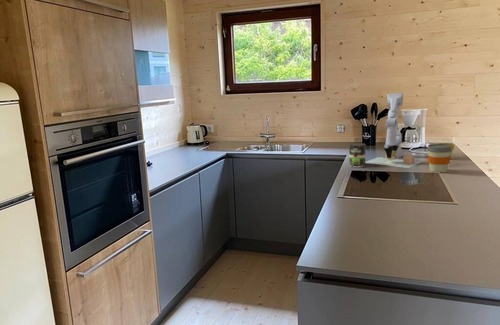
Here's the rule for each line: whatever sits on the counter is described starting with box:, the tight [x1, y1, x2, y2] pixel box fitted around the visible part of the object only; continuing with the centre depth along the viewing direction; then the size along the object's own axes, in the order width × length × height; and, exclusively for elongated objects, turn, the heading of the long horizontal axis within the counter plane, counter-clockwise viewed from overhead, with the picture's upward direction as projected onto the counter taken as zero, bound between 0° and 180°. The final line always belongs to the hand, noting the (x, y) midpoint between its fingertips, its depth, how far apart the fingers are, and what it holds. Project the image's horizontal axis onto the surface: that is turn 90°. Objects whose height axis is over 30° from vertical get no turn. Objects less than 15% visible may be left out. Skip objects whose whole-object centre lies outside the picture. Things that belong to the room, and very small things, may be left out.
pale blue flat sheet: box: [365, 156, 422, 169], centre depth 249 cm, size 20×30×1 cm, turn 44°
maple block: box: [385, 151, 398, 160], centre depth 246 cm, size 5×5×5 cm
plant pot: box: [438, 142, 455, 156], centre depth 252 cm, size 10×10×10 cm
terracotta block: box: [402, 154, 416, 164], centre depth 243 cm, size 5×5×5 cm
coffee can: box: [348, 142, 367, 168], centre depth 246 cm, size 10×10×14 cm
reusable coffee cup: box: [427, 143, 452, 173], centre depth 221 cm, size 12×13×15 cm
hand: (391, 157), depth 247 cm, fingers closed on maple block, 5 cm apart
